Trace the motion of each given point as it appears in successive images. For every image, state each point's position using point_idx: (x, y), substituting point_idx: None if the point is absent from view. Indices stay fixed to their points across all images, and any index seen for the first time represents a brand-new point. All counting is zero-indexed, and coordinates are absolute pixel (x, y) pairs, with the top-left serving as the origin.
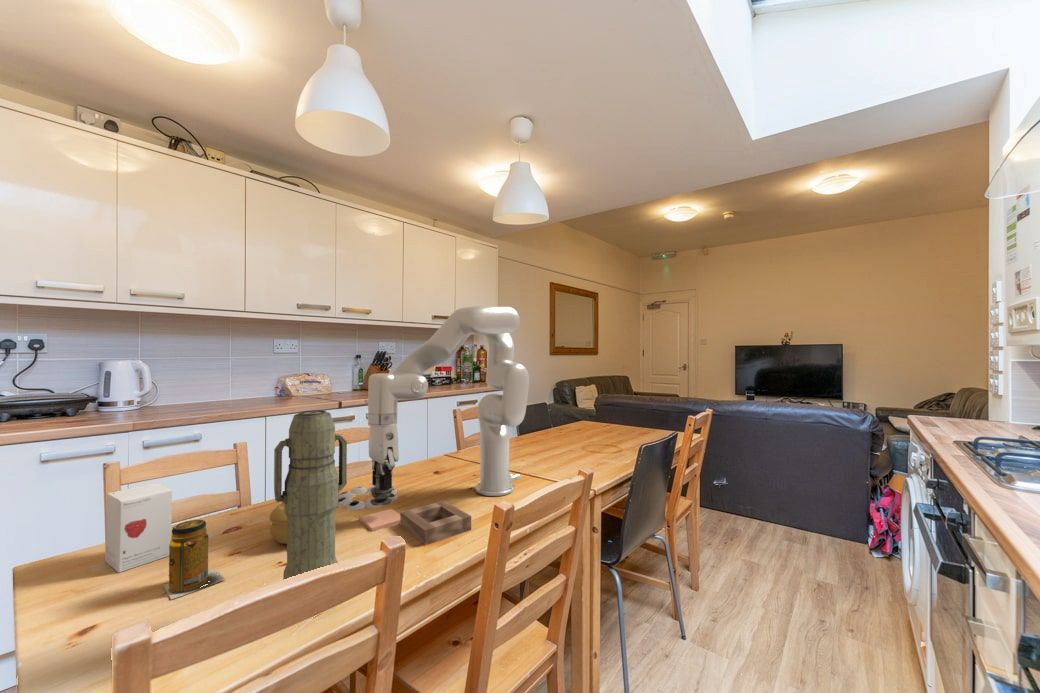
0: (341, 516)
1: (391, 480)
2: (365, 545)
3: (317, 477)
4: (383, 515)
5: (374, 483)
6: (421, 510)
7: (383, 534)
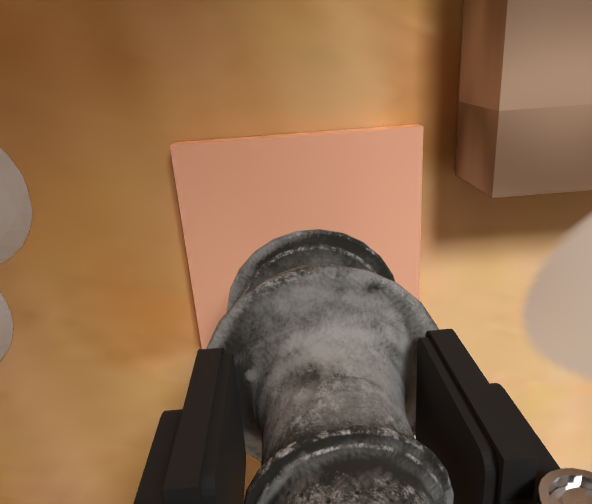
0: (89, 417)
1: (487, 383)
2: (548, 396)
3: None
4: (269, 235)
5: (245, 465)
6: (588, 27)
7: (496, 294)
